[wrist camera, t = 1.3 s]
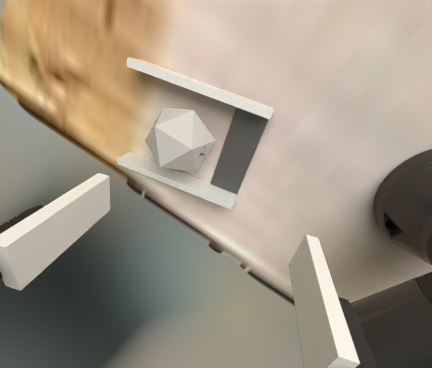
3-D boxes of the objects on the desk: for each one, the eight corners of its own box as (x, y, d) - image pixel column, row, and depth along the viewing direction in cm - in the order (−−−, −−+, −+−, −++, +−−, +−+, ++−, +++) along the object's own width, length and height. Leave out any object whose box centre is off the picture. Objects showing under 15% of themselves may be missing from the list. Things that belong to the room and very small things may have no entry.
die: (181, 168, 36) (202, 192, 28) (132, 142, 32) (140, 163, 24) (206, 125, 35) (236, 137, 27) (159, 92, 31) (178, 96, 23)
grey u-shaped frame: (273, 107, 29) (273, 111, 26) (234, 198, 36) (231, 209, 33) (142, 59, 30) (127, 57, 27) (129, 157, 37) (117, 164, 34)
